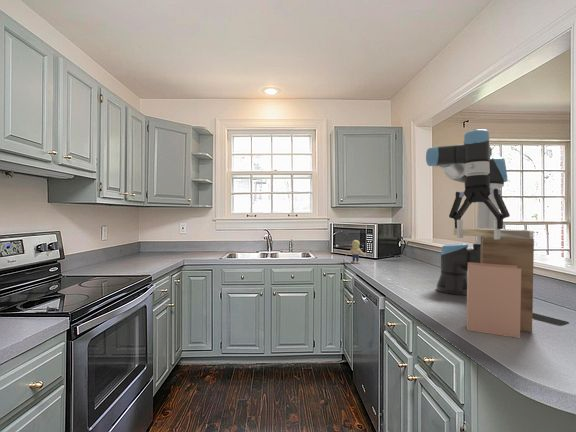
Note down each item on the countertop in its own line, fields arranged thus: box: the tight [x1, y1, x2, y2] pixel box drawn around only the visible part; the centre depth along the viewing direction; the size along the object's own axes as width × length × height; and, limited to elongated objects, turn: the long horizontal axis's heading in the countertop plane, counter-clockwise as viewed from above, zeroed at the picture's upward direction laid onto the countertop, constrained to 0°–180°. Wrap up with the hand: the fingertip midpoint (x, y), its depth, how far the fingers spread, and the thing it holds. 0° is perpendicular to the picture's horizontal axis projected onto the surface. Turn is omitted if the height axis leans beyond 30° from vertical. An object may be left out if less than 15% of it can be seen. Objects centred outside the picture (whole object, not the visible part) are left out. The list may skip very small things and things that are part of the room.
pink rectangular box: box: [466, 262, 521, 339], centre depth 104 cm, size 7×14×21 cm, turn 63°
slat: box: [453, 227, 524, 237], centre depth 114 cm, size 4×20×2 cm, turn 52°
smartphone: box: [532, 312, 570, 327], centre depth 117 cm, size 7×1×15 cm
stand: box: [480, 228, 535, 333], centre depth 110 cm, size 9×14×32 cm, turn 63°
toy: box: [345, 239, 366, 264], centre depth 243 cm, size 15×7×18 cm, turn 79°
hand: (477, 238), depth 111 cm, fingers open, 11 cm apart
